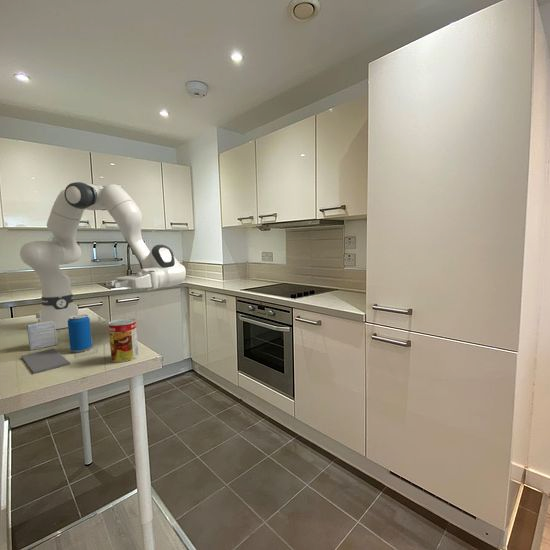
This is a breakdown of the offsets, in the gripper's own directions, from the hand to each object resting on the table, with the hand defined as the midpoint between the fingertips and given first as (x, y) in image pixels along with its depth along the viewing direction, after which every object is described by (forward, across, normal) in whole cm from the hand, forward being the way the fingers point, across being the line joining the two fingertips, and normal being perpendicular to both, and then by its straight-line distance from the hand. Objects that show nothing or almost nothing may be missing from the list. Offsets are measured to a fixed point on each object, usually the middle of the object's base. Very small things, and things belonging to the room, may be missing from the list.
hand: (110, 284), depth 115 cm
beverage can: (+12, 0, +21) cm, 25 cm away
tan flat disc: (+12, 0, +21) cm, 24 cm away
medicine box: (+21, -16, +20) cm, 33 cm away
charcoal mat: (+23, +2, +21) cm, 31 cm away
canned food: (+4, +19, +23) cm, 30 cm away
